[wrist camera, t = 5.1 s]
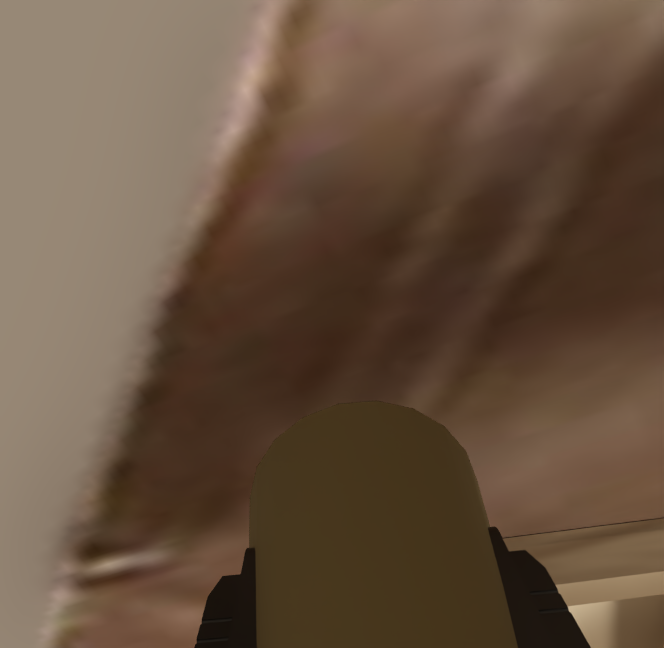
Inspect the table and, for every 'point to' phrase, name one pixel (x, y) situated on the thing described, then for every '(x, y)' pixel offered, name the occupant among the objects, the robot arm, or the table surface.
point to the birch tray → (607, 579)
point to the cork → (373, 537)
